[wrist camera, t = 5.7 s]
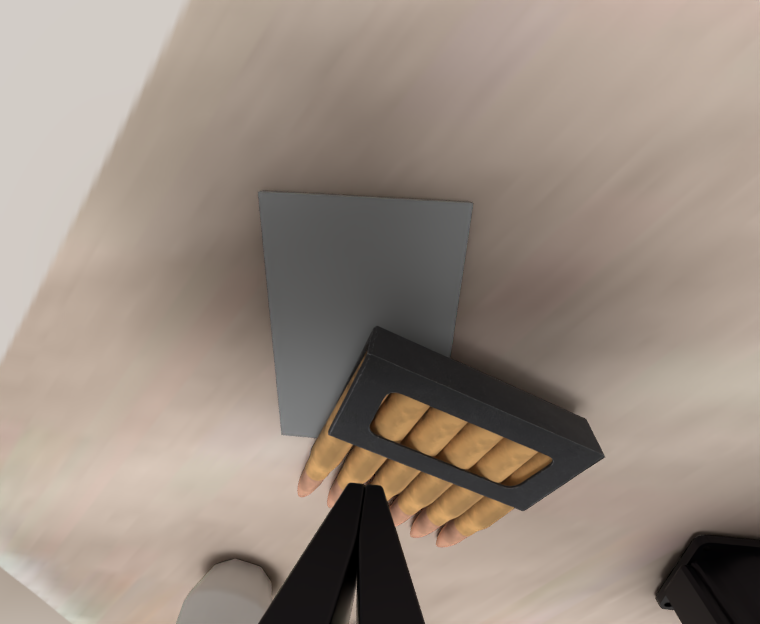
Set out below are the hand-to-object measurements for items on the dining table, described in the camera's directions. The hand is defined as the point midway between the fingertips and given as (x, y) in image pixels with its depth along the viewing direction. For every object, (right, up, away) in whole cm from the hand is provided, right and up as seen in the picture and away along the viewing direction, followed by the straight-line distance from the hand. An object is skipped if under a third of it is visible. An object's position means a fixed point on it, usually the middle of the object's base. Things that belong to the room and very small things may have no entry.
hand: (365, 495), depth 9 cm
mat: (0, +3, +7) cm, 8 cm away
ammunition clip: (+5, +1, +6) cm, 8 cm away
